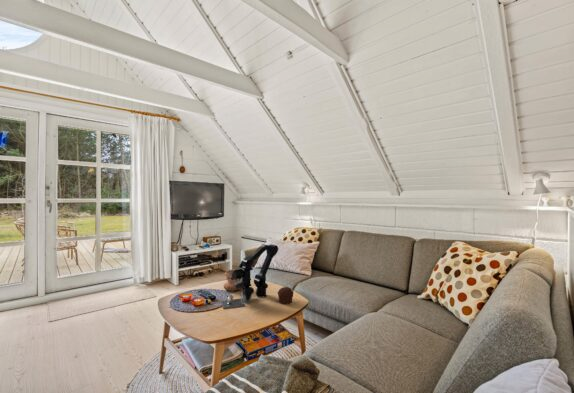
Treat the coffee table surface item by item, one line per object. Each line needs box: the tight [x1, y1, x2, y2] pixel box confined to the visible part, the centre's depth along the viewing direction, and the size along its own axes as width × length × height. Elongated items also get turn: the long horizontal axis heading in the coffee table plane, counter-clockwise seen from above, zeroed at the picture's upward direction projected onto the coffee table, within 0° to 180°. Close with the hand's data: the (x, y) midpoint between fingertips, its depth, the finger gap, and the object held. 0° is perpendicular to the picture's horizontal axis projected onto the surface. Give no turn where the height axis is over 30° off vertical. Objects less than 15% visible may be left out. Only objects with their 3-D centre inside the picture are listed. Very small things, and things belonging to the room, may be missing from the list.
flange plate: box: [220, 296, 245, 310], centre depth 197 cm, size 14×12×5 cm
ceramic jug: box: [223, 269, 242, 292], centre depth 227 cm, size 18×14×14 cm
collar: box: [240, 291, 252, 303], centre depth 204 cm, size 6×6×5 cm
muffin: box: [277, 286, 294, 305], centre depth 201 cm, size 12×11×10 cm
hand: (246, 298), depth 204 cm, fingers open, 8 cm apart
